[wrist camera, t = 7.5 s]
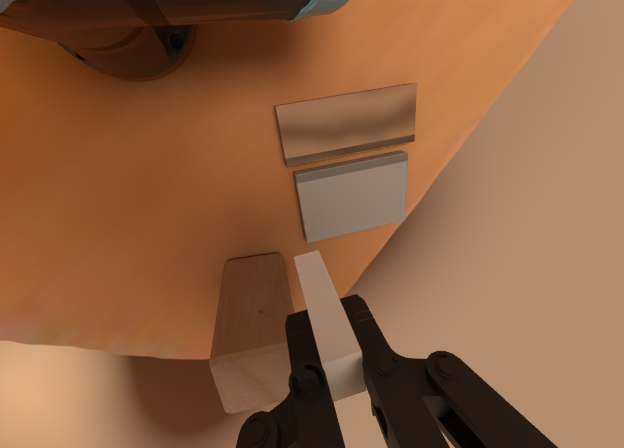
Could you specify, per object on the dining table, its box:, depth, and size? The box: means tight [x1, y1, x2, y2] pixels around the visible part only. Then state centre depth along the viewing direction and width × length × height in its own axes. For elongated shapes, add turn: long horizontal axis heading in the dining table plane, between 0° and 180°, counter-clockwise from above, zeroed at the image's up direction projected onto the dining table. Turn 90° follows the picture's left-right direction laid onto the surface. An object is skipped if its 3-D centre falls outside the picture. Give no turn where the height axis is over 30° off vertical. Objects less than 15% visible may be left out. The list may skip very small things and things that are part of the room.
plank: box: [294, 151, 408, 243], centre depth 42 cm, size 12×18×2 cm, turn 98°
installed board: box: [274, 83, 417, 167], centre depth 36 cm, size 8×20×2 cm, turn 98°
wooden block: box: [209, 253, 294, 414], centre depth 37 cm, size 10×10×20 cm
